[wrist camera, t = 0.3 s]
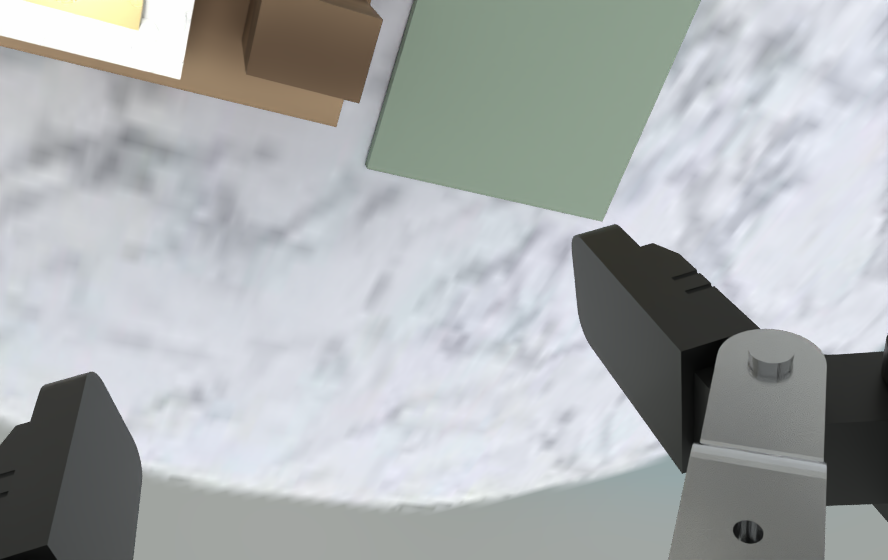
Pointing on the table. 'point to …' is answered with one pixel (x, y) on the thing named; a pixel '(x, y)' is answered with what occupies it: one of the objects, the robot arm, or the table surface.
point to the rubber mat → (527, 96)
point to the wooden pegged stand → (266, 54)
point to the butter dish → (106, 29)
